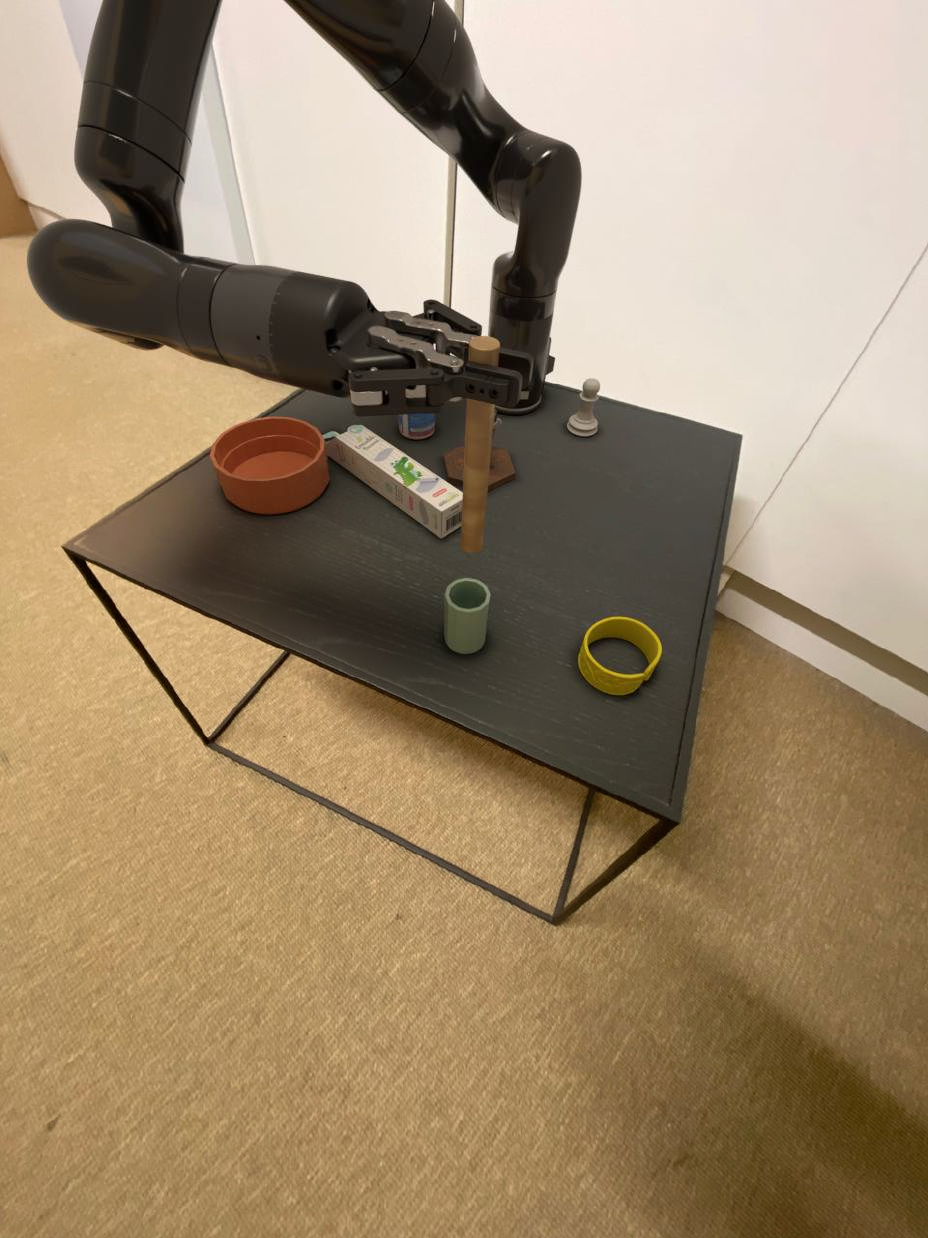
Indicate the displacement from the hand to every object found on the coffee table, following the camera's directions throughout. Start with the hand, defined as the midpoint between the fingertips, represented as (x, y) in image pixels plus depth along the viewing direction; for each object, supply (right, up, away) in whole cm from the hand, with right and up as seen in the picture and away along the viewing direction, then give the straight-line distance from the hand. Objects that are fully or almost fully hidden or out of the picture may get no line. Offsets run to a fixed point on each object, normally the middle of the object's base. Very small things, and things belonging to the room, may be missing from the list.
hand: (524, 381), depth 37 cm
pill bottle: (-11, +13, +48) cm, 51 cm away
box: (-15, +3, +40) cm, 43 cm away
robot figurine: (-2, +5, +43) cm, 43 cm away
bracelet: (+12, -21, +22) cm, 33 cm away
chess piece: (+14, +14, +50) cm, 54 cm away
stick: (-3, -9, +13) cm, 16 cm away
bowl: (-29, +3, +39) cm, 49 cm away
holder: (-4, -18, +23) cm, 30 cm away
